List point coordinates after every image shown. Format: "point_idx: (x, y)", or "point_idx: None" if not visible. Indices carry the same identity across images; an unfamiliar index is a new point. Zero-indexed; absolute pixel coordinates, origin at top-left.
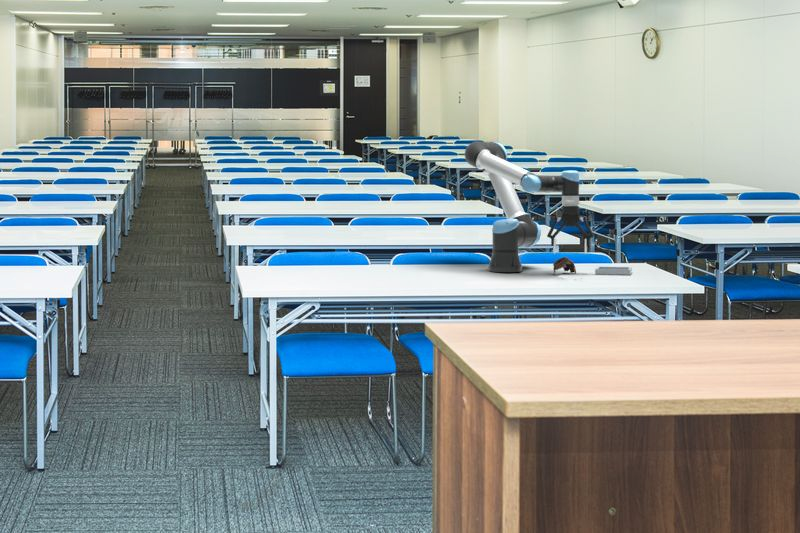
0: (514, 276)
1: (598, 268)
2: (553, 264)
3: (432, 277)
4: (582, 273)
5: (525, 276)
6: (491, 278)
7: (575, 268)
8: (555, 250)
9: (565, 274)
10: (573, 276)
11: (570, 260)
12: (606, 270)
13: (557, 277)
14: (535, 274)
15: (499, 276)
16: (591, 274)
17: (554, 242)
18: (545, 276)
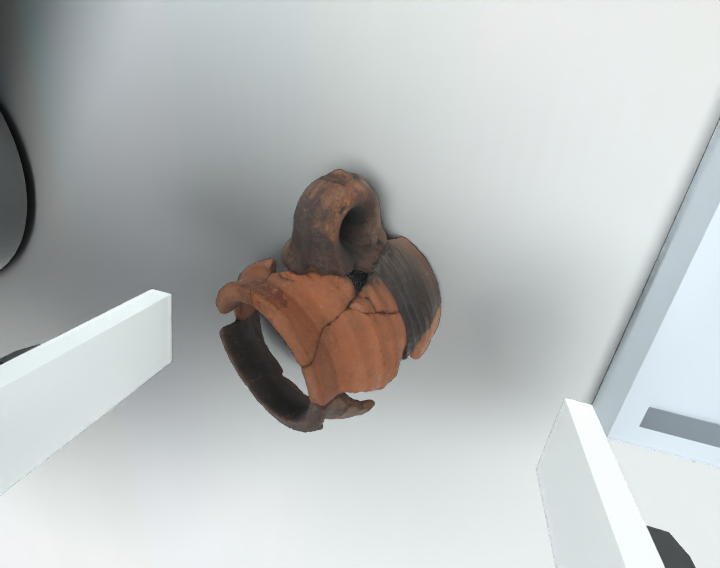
0: (73, 474)
1: (681, 338)
2: (223, 341)
3: None
4: (508, 258)
5: (123, 481)
6: (14, 554)
7: (429, 337)
8: (145, 371)
9: None
10: (391, 514)
11: (365, 385)
12: (715, 459)
13: (292, 558)
14: None
15: None
16: (567, 367)
17: (36, 452)
18: (224, 493)
